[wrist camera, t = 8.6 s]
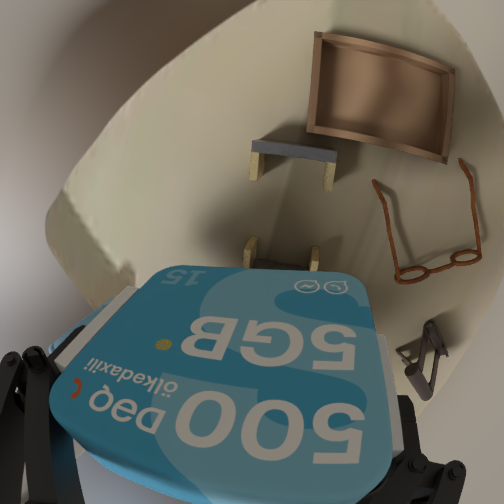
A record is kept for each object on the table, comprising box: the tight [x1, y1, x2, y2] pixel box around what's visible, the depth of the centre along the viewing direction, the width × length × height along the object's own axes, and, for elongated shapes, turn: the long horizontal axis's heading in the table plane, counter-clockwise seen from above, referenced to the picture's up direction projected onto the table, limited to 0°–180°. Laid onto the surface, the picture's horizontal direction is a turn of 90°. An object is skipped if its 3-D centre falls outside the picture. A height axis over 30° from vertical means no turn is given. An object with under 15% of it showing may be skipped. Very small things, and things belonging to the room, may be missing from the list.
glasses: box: [372, 158, 482, 284], centre depth 27 cm, size 13×13×5 cm
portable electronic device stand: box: [396, 320, 449, 401], centre depth 33 cm, size 9×8×8 cm
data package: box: [49, 265, 393, 504], centre depth 11 cm, size 12×4×12 cm, turn 94°
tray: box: [306, 31, 455, 165], centre depth 23 cm, size 16×12×3 cm
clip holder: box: [243, 139, 338, 271], centre depth 31 cm, size 9×16×4 cm, turn 176°
